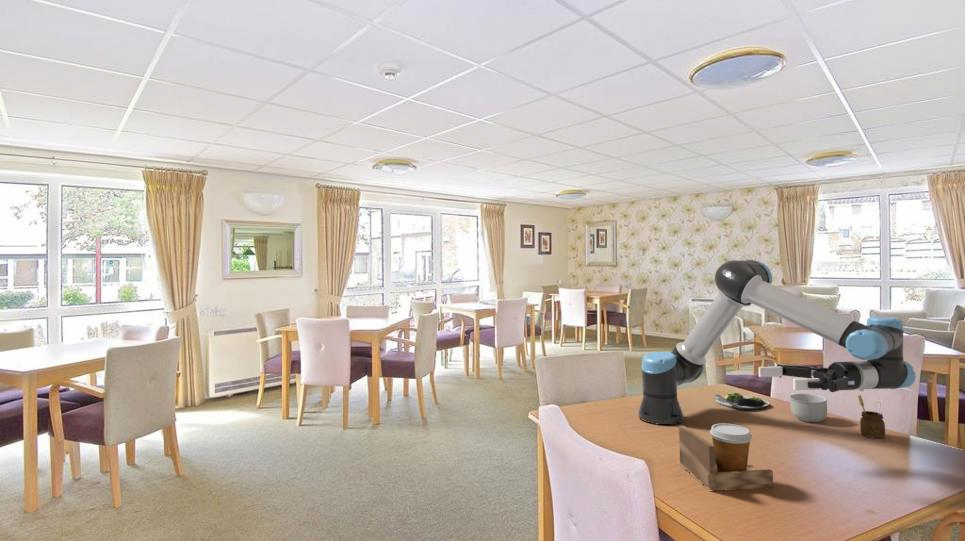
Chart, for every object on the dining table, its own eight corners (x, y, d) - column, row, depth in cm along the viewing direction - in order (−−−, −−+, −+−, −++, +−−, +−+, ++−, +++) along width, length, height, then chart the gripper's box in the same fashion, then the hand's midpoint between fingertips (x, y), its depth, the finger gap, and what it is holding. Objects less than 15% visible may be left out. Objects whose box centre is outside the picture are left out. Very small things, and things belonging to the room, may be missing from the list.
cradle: (735, 462, 128) (734, 422, 128) (773, 487, 113) (771, 442, 113) (680, 465, 127) (678, 425, 127) (710, 491, 112) (709, 446, 112)
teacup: (834, 425, 155) (833, 401, 155) (798, 424, 157) (797, 400, 157) (813, 412, 169) (812, 390, 169) (780, 411, 171) (780, 390, 171)
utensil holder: (879, 440, 141) (878, 401, 141) (855, 434, 146) (854, 396, 146) (889, 436, 143) (887, 398, 143) (865, 430, 149) (863, 393, 149)
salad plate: (701, 401, 188) (700, 390, 188) (731, 396, 195) (731, 385, 195) (744, 414, 170) (744, 402, 170) (776, 407, 177) (776, 395, 177)
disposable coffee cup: (703, 469, 122) (701, 424, 122) (736, 466, 123) (734, 421, 123) (727, 486, 113) (725, 436, 113) (762, 482, 114) (760, 433, 114)
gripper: (894, 403, 113) (811, 406, 112) (815, 378, 138) (747, 380, 137) (894, 372, 113) (810, 375, 112) (815, 353, 138) (746, 355, 137)
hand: (775, 378), depth 125 cm, fingers open, 13 cm apart
